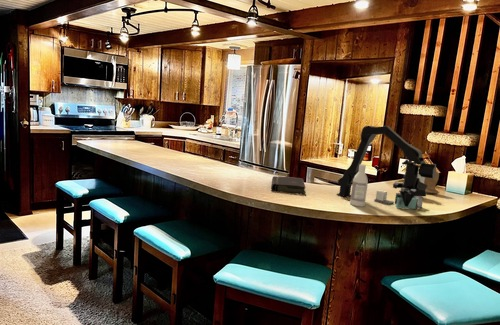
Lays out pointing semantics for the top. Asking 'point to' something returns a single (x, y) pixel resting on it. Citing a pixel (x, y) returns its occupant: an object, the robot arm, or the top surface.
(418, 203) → the rack
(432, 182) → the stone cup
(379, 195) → the fader knob
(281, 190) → the diary
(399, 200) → the teal rectangular slab
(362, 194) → the bath foam
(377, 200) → the mixer board
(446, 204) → the top surface
